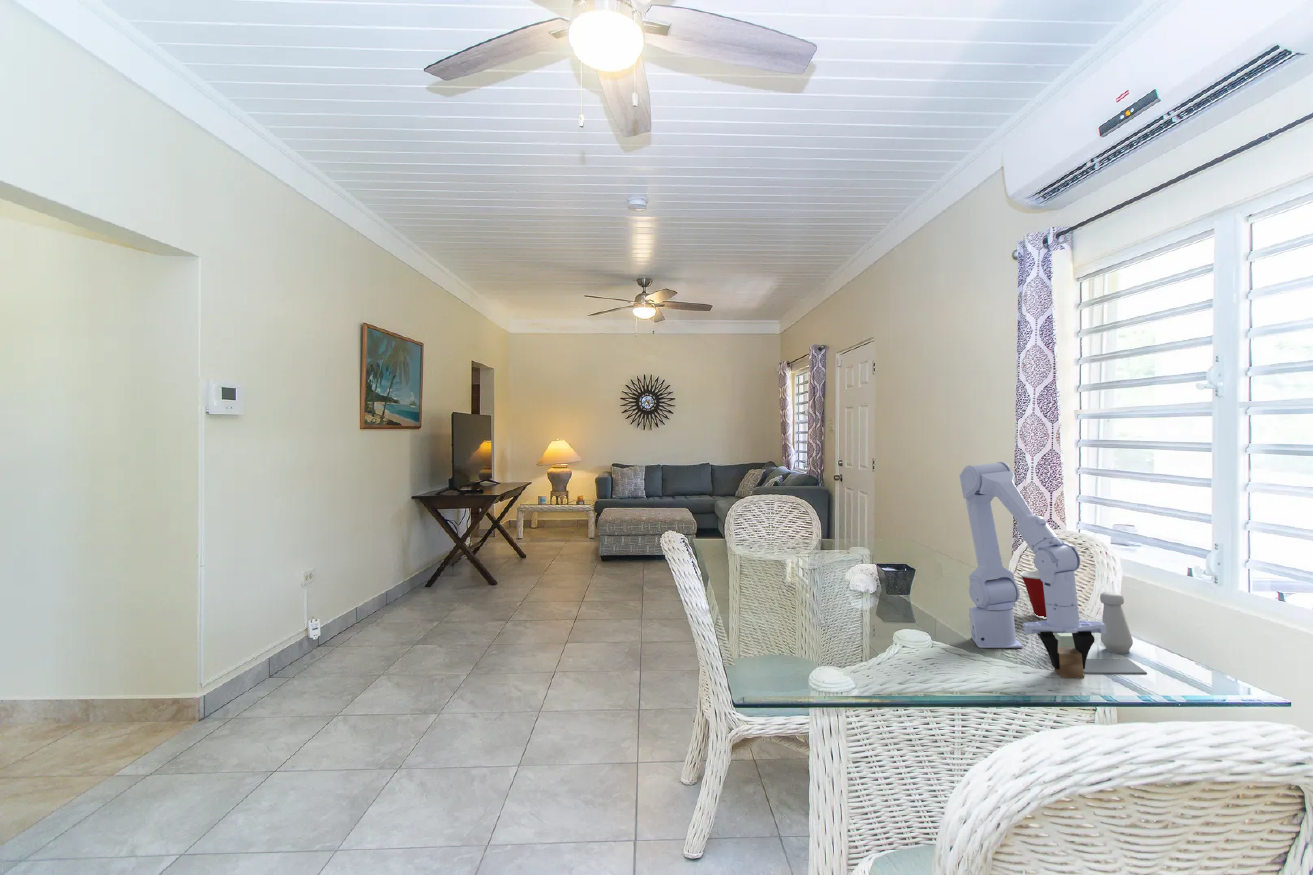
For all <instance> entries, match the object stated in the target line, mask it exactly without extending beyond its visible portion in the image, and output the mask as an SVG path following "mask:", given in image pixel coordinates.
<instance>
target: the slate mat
mask: <svg viewBox="0 0 1313 875" xmlns="http://www.w3.org/2000/svg"><path fill="white" fill-rule="evenodd" d="M1083 672H1084V675H1087V674H1089V675H1090V674H1091V675H1096V674H1098V675H1099V674H1100V675H1102V674H1103V675H1105V674H1106V675H1113V674H1114V675H1120V674H1121V675H1124V674H1126V675H1128V674H1129V675H1140V674H1141V675H1147V674H1148V673H1147V671H1146V670H1144V669H1143V668H1142V667H1140V666H1139V665H1137V664H1136V663H1135V662H1133V661H1132V660H1131V659H1129V658H1087V659H1086V663H1085V669H1083Z"/></svg>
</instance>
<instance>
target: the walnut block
mask: <svg viewBox="0 0 1313 875" xmlns="http://www.w3.org/2000/svg"><path fill="white" fill-rule="evenodd" d="M1058 658H1059V669H1055V668H1054V667H1053V668H1054V670H1053V671H1055V673H1057V675H1059V677H1061V679H1085V673H1084V672H1083V663H1082V654H1081V653H1080V652H1079V651H1078V650H1076V649H1075V648H1074V647H1058Z"/></svg>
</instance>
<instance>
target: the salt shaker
mask: <svg viewBox="0 0 1313 875" xmlns="http://www.w3.org/2000/svg"><path fill="white" fill-rule="evenodd" d="M1099 600H1100V603H1102V604H1103V610H1102V611H1103V612H1102V620H1101V622H1102V623H1104V624H1105V625H1106V634H1100V641H1101V643H1102V644H1103V647H1105V649H1106V650H1107V651H1108V652H1110V653H1114V654H1119V655H1121V654H1123V655H1124V654H1128V653H1129V652H1130V650H1131V648H1132V646H1133V644H1134V641H1133V636H1132V634H1131V631H1130V628H1129V625H1128V621H1127V618H1126V616H1125V613H1124V609H1123V606H1122V605H1123V604H1124V603H1125V599H1124V595H1123V594H1121V593H1120V592H1115V591H1104V592H1103V591H1102V592H1101V593H1100V594H1099Z"/></svg>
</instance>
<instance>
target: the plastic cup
mask: <svg viewBox="0 0 1313 875" xmlns="http://www.w3.org/2000/svg"><path fill="white" fill-rule="evenodd" d="M1019 576H1020V577H1021V578H1022V581H1023V583H1024V585H1025V589H1026V591H1027V592H1026V593H1027V596H1028V598H1029V601H1030V604H1031V606H1032V607H1031V608H1032V611H1033V613H1035V614H1036V615H1038V616H1044V617H1047V615H1046V606H1045V597H1044V588H1043V581H1041V579H1040V577H1039V572H1038V570H1030V571H1029V570H1028V571H1023V572H1020V573H1019ZM1035 614H1034V615H1035Z"/></svg>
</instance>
